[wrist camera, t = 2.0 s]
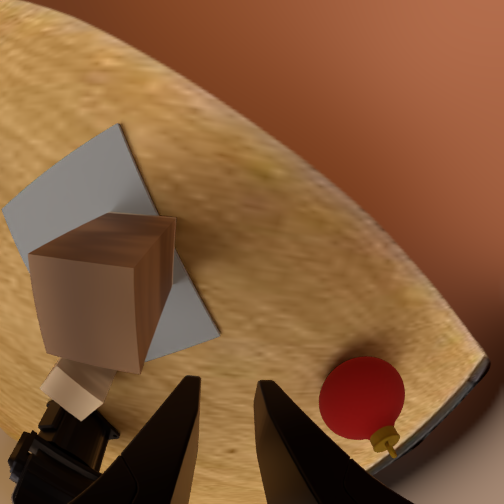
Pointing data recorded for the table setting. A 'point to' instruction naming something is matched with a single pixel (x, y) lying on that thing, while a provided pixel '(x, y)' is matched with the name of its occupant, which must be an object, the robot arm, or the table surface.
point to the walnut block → (104, 288)
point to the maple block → (78, 386)
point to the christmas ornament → (364, 402)
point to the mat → (95, 205)
